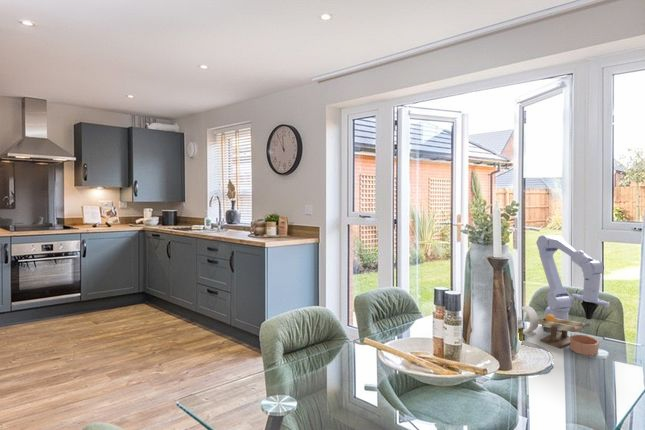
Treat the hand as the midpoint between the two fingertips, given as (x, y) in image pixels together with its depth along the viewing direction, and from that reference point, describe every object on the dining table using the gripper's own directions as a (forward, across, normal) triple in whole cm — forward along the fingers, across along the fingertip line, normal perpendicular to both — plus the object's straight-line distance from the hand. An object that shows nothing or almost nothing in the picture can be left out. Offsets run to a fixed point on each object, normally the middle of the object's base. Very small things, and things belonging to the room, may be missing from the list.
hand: (588, 318), depth 191 cm
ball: (+1, -11, -10) cm, 15 cm away
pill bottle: (+10, -17, -27) cm, 34 cm away
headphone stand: (+10, -19, -13) cm, 25 cm away
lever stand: (+10, -7, -10) cm, 16 cm away
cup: (+10, +3, -10) cm, 15 cm away
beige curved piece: (+6, -6, -8) cm, 11 cm away
